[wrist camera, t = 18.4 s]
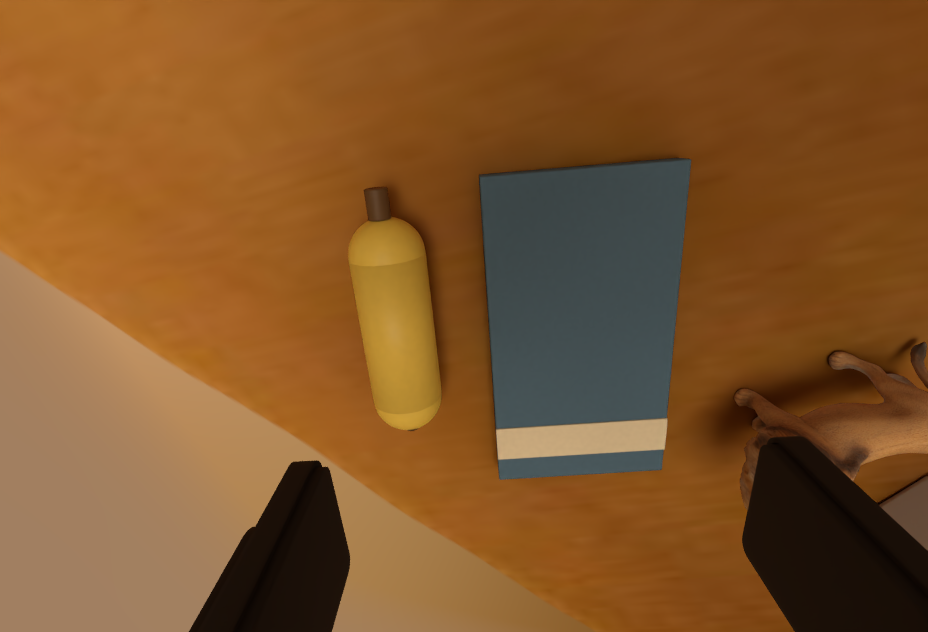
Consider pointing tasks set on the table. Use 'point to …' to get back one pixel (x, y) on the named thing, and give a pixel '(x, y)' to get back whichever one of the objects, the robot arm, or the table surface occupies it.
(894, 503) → the vintage mobile phone
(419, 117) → the table surface
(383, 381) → the yellow shampoo bottle
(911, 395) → the lion figurine
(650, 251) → the towel
